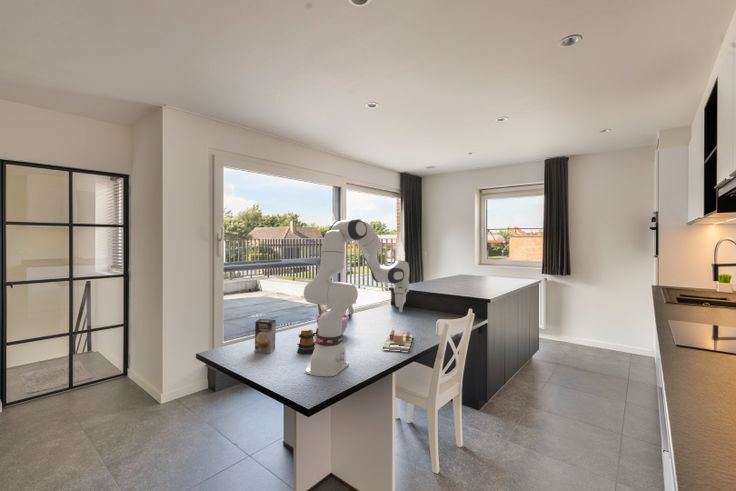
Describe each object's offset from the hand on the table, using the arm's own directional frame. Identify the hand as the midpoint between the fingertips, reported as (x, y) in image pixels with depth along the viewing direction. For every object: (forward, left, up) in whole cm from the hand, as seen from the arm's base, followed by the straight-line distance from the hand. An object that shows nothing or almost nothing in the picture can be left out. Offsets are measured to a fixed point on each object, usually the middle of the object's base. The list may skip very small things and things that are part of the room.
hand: (400, 311), depth 197 cm
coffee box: (-35, +67, -18) cm, 77 cm away
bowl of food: (+1, +42, -18) cm, 45 cm away
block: (-7, 0, -15) cm, 17 cm away
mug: (-29, +45, -18) cm, 56 cm away
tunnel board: (-4, 0, -17) cm, 18 cm away
